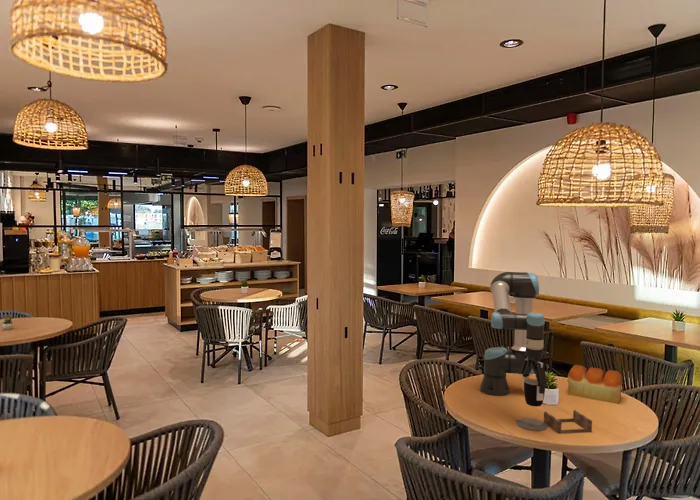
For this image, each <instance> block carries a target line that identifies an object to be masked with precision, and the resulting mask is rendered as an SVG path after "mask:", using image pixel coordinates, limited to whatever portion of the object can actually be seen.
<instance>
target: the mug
mask: <svg viewBox="0 0 700 500" xmlns="http://www.w3.org/2000/svg"><path fill="white" fill-rule="evenodd" d="M537 385H538V382H537V379H535V378H529V379H526V380H524V391H523V393H524V401H525V403H526V404H527V405H528V406H531V407H536V408H537V407H541V406H542V405H543V404H544V403H543V402H544V400H545V399H544V398H545V392H546V386H544V393H543V400H541V401H537Z"/></svg>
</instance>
